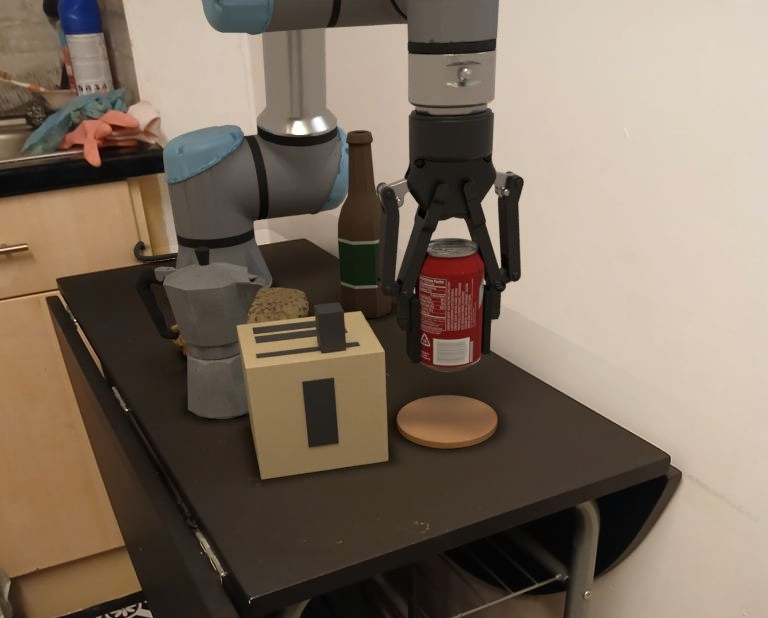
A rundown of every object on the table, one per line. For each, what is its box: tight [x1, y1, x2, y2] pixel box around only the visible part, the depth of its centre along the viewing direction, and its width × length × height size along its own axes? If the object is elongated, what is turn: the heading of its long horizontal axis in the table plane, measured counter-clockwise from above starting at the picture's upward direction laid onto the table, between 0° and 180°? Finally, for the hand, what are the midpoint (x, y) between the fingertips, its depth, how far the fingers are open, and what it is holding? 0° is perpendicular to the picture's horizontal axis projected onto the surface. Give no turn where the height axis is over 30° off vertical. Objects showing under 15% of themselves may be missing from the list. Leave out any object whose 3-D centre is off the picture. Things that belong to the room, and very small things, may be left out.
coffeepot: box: [134, 247, 265, 420], centre depth 88 cm, size 15×9×18 cm, turn 74°
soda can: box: [414, 237, 485, 373], centre depth 79 cm, size 7×7×12 cm
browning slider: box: [313, 301, 346, 353], centre depth 74 cm, size 2×2×4 cm
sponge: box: [170, 286, 310, 358], centre depth 105 cm, size 13×8×20 cm
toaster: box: [237, 311, 389, 481], centre depth 81 cm, size 11×13×12 cm
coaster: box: [396, 394, 498, 450], centre depth 87 cm, size 11×11×1 cm
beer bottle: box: [337, 129, 392, 319], centre depth 110 cm, size 8×8×24 cm
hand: (448, 353), depth 82 cm, fingers closed on soda can, 7 cm apart
